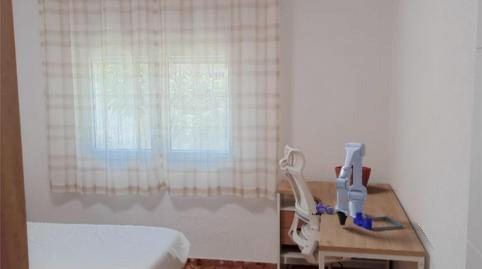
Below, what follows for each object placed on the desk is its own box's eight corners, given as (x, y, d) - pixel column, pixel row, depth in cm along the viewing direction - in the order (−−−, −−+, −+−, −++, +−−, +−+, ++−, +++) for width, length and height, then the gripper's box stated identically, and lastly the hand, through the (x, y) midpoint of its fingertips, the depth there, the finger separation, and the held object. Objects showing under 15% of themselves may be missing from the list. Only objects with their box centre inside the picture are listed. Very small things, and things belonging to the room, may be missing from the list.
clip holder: (359, 220, 228) (359, 217, 228) (386, 218, 231) (386, 215, 231) (374, 230, 212) (374, 226, 212) (402, 228, 215) (402, 224, 215)
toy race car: (335, 215, 242) (335, 204, 241) (310, 214, 243) (310, 204, 243) (333, 210, 251) (333, 200, 251) (309, 210, 253) (309, 200, 252)
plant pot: (352, 194, 290) (352, 170, 288) (334, 189, 306) (334, 167, 305) (371, 190, 299) (371, 167, 298) (352, 185, 316) (352, 164, 314)
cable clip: (353, 223, 225) (353, 212, 225) (360, 222, 226) (360, 212, 226) (364, 230, 214) (364, 219, 213) (371, 229, 215) (372, 218, 214)
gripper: (330, 197, 223) (330, 221, 224) (341, 204, 209) (340, 229, 210) (342, 196, 224) (342, 220, 226) (353, 203, 210) (353, 228, 211)
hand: (342, 224), depth 218 cm, fingers closed
